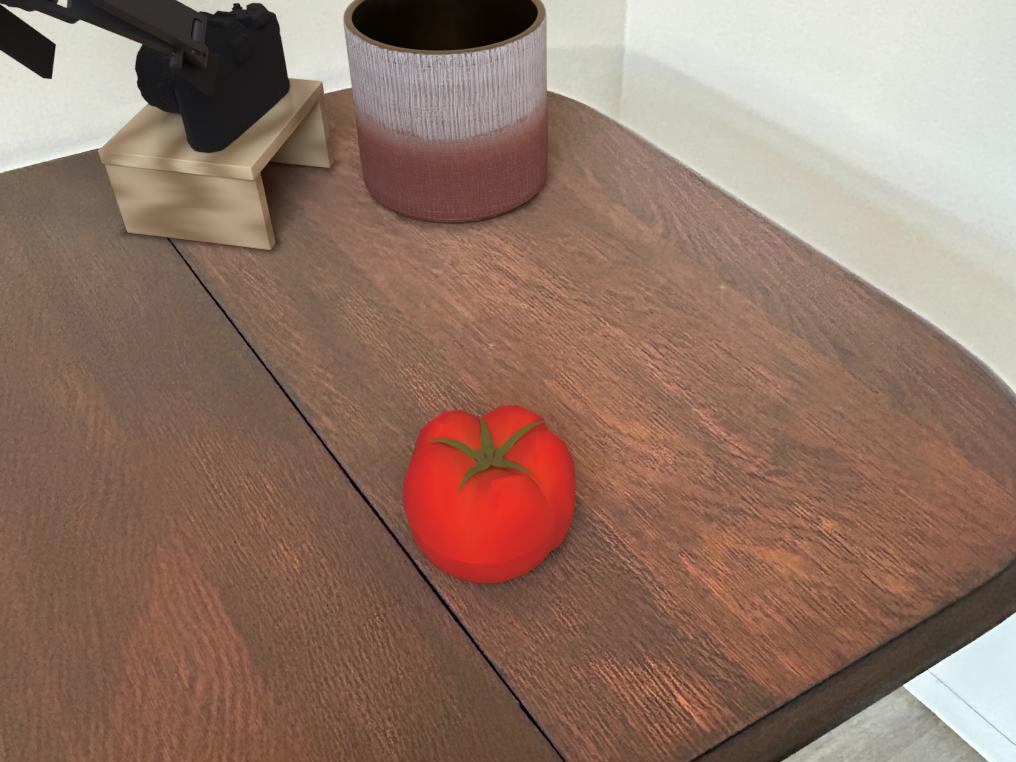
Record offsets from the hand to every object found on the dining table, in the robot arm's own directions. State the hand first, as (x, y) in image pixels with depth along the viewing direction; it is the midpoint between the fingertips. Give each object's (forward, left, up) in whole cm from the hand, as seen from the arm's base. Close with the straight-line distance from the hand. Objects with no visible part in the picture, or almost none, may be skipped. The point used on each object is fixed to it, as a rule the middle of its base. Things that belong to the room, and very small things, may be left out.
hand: (129, 69), depth 79 cm
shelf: (+1, +10, -16) cm, 19 cm away
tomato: (+36, -28, -16) cm, 48 cm away
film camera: (+1, +10, -8) cm, 13 cm away
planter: (+21, +17, -16) cm, 31 cm away
